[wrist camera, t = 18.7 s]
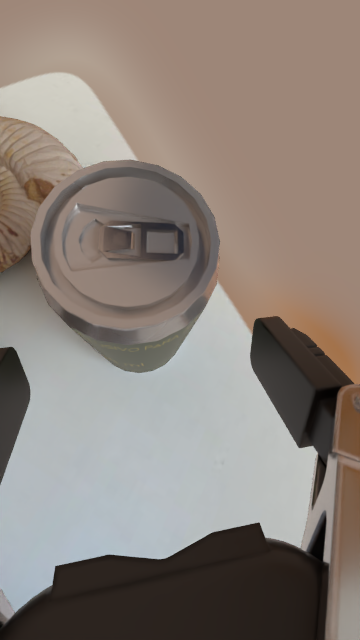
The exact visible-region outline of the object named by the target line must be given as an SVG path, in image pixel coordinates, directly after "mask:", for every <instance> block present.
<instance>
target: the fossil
mask: <svg viewBox="0 0 360 640" xmlns="http://www.w3.org/2000/svg"><path fill="white" fill-rule="evenodd" d="M80 169H83V167H82V166H81V165H80V163H79V162H78V160H77V159H76V157H75V156H74V154H72V153H71V152H70V151H69V150H68V149H67V148H66V147H65V146H64V145H63V144H62V143H61V142H59V140H58V139H57V138H55V137H53V136H52V135H50V134H49V133H48V132H46V131H45V130H43V129H42V128H40V127H38V126H36V125H34V124H31V123H28V122H25V121H21V120H18V119H13V118H7V117H1V116H0V272H3V271H5V270H6V269H7V268H9V267H11V266H13V265H14V264H16V263H18V262H19V261H20V259H22V258H23V257H24V256H26V254H27V252H28V251H29V250H30V248H31V230H32V227H33V224H34V221H35V218H36V214H37V211H38V208H39V207H40V205H41V204H42V203H43V201H44V200H45V199H46V197H47V196H48V195H49V193H50V192H51V191H52V189H53V188H54V187H55V186H56V185H57V184H59V183H60V182H62V181H63V180H64V179H66V178H67V177H69V176H70V175H71V174H73V173H74V172H76V171H77V170H80Z"/></svg>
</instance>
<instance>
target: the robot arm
mask: <svg viewBox="0 0 360 640" xmlns="http://www.w3.org/2000/svg"><path fill="white" fill-rule="evenodd" d="M250 359H251V365H252V368H253V370H254V372H255V374H256V376H257V377H258V379H259V381H260V382H261V384H262V386H263V388H264V389H265V391H266V393H267V394H268V396H269V398H270V400H271V401H272V403H273V405H274V406H275V408H276V410H277V411H278V413H279V415H280V417H281V418H282V420H283V422H284V423H285V425H286V427H287V428H288V430H289V432H290V434H291V435H292V437H293V439H294V440H295V442H296V444H297V445H298V447H299V448H303V447H308V446H314V448H315V449H316V451H317V452H318V453H317V456H316V459H315V466H314V473H313V481H312V488H311V495H310V503H309V510H308V517H307V522H306V527H305V531H304V534H303V539H302V544H301V549H300V548H298V547H296V546H294V545H291V544H289V543H286V542H284V541H280V540H275V539H271V538H265V537H264V534H263V531H262V528H261V526H260V523H255V524H250V525H245V526H241V527H236V528H231V529H227V530H222V531H217V532H213V533H211V534H209V535H207V536H206V537H204V538H202V539H200V540H198V541H197V542H195V543H193V544H191V545H190V546H188V547H186V548H184V549H182V550H181V551H179V552H177V553H175V554H174V555H172V556H170V557H168V558H166V559H148V558H138V557H127V556H117V555H105V556H101V557H96V558H92V559H87V560H82V561H78V562H73V563H68V564H64V565H59V566H55V572H54V579H53V585H52V586H50V587H48V588H46V589H45V590H43V591H42V592H41V593H39V594H38V595H36V596H35V597H33V598H32V599H31V600H30V601H28V602H27V603H26V604H25V605H24V606H22V607H21V608H20V609H19V610H18V611H17V612H16V613H15V612H14V610H13V608H12V606H11V604H10V603H9V601H8V599H7V598H6V596H5V595H4V593H3V591H2V589H1V588H0V640H360V384H354V383H353V382H352V381H351V380H350V379H349V378H348V377H347V375H345V373H344V372H343V371H342V370H341V369H340V368H339V367H338V366H337V365H336V364H335V363H334V362H333V361H332V360H331V359H330V358H329V357H328V356H327V355H325V353H324V352H323V351H322V350H321V349H320V348H319V347H317V345H316V344H315V343H314V342H313V341H312V340H311V339H310V338H309V337H308V336H307V335H306V334H304V333H302V332H300V331H298V330H296V329H295V328H292V329H290V328H289V327H288V326H287V325H286V324H285V323H284V321H283V320H282V319H281V318H280V317H278V316H274V317H266V318H258V319H256V320H255V322H254V327H253V336H252V344H251V352H250ZM29 401H30V386H29V382H28V380H27V377H26V375H25V372H24V370H23V367H22V364H21V362H20V359H19V357H18V354H17V352H16V350H15V349H14V348H13V347H7V348H0V484H1V481H2V478H3V476H4V473H5V470H6V467H7V464H8V461H9V458H10V456H11V453H12V450H13V447H14V444H15V441H16V439H17V436H18V433H19V430H20V427H21V424H22V421H23V419H24V416H25V413H26V410H27V407H28V404H29Z"/></svg>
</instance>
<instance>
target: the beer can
mask: <svg viewBox="0 0 360 640" xmlns="http://www.w3.org/2000/svg"><path fill="white" fill-rule="evenodd" d="M219 245H220V240H219V236H218V231H217V227H216V222H215V217H214V215H213V214H212V212H211V210H210V209H209V207H208V206H207V204H206V202H205V200H204V199H203V197H202V195H201V194H200V193H199V192H198V191H196V190H195V189H194V188H193V187H192V186H191V185H190V184H189V183H187V181H185V180H184V179H183V178H182V177H181V176H179V175H176V174H174V173H172V172H170V171H168V170H166V169H164V168H162V167H160V166H158V165H154V164H149V163H144V162H139V161H134V160H120V161H104V162H101V163H98V164H95V165H92V166H89V167H86V168H83V169H80V170H77V171H76V172H74V173H73V174H71V175H70V176H69V177H67V178H66V179H64V180H63V181H62V182H60V183H59V184H57V185H56V186H55V187H54V188H53V189H52V191H51V192H50V193H49V195H48V196H47V197H46V199H45V200H44V201H43V203H42V204H41V205H40V207H39V208H38V211H37V214H36V218H35V221H34V224H33V227H32V230H31V252H32V262H33V265H34V267H35V269H36V271H37V280H38V282H39V284H40V286H41V289H42V291H43V293H44V295H45V298H46V300H47V302H48V304H49V306H50V307H51V308H52V309H53V310H54V311H55V312H56V313H57V314H58V315H59V316H60V317H61V318H62V319H63V320H64V321H65V322H66V323H67V324H68V325H69V326H70V327H71V328H72V329H73V330H74V331H75V332H76V333H78V334H79V335H80V336H81V337H82V338H83V339H84V340H86V341H87V342H88V343H89V344H90V345H91V346H92V347H94V348H95V349H96V350H97V351H98V352H99V353H100V354H101V355H103V356H104V357H105V358H106V359H107V360H108V361H109V362H111V363H112V364H113V365H115V366H117V367H119V368H121V369H123V370H125V371H129V372H136V373H142V372H148V371H153V370H155V369H157V368H159V367H161V366H163V365H165V364H166V363H167V362H168V361H169V360H170V359H171V358H172V357H173V356H174V355H175V353H176V352H177V350H178V349H179V347H180V346H181V344H182V343H183V341H184V339H185V338H186V336H187V335H188V333H189V332H190V330H191V329H192V327H193V325H194V324H195V322H196V321H197V319H198V318H199V316H200V314H201V313H202V311H203V310H204V308H205V306H206V304H207V302H208V300H209V298H210V296H211V294H212V292H213V290H214V288H215V286H216V284H217V276H218V268H219V259H220V258H219V254H218V253H219Z"/></svg>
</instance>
